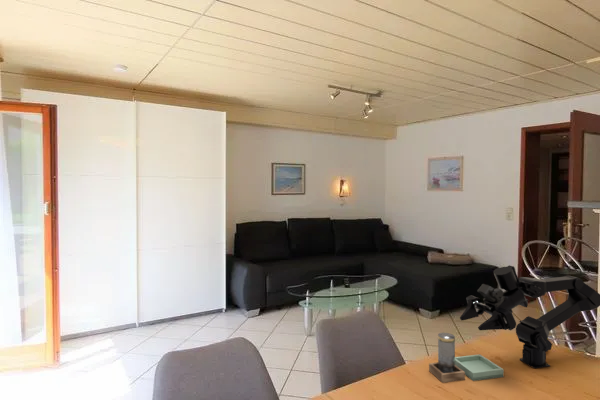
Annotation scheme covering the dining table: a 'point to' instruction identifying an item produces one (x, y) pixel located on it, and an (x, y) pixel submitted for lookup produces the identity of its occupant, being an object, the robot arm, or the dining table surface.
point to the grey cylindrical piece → (446, 352)
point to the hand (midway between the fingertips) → (469, 323)
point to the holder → (447, 377)
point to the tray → (478, 367)
